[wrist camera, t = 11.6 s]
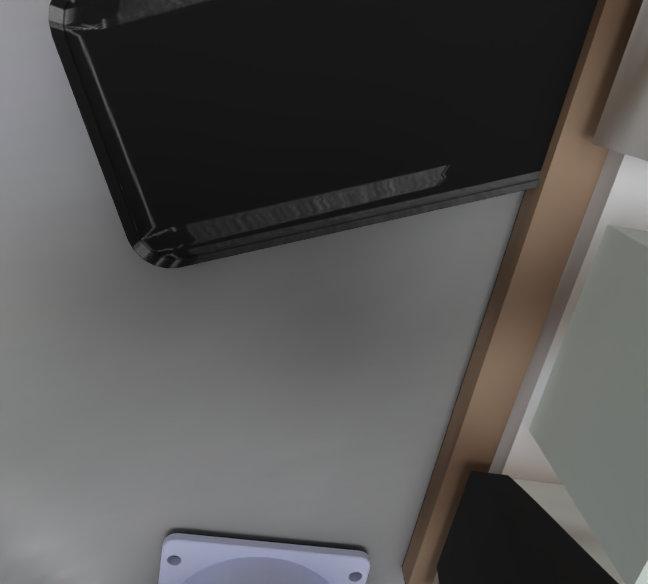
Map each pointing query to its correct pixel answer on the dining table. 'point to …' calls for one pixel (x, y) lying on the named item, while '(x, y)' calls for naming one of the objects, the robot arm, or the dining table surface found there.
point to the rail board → (548, 284)
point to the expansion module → (605, 403)
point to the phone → (311, 110)
